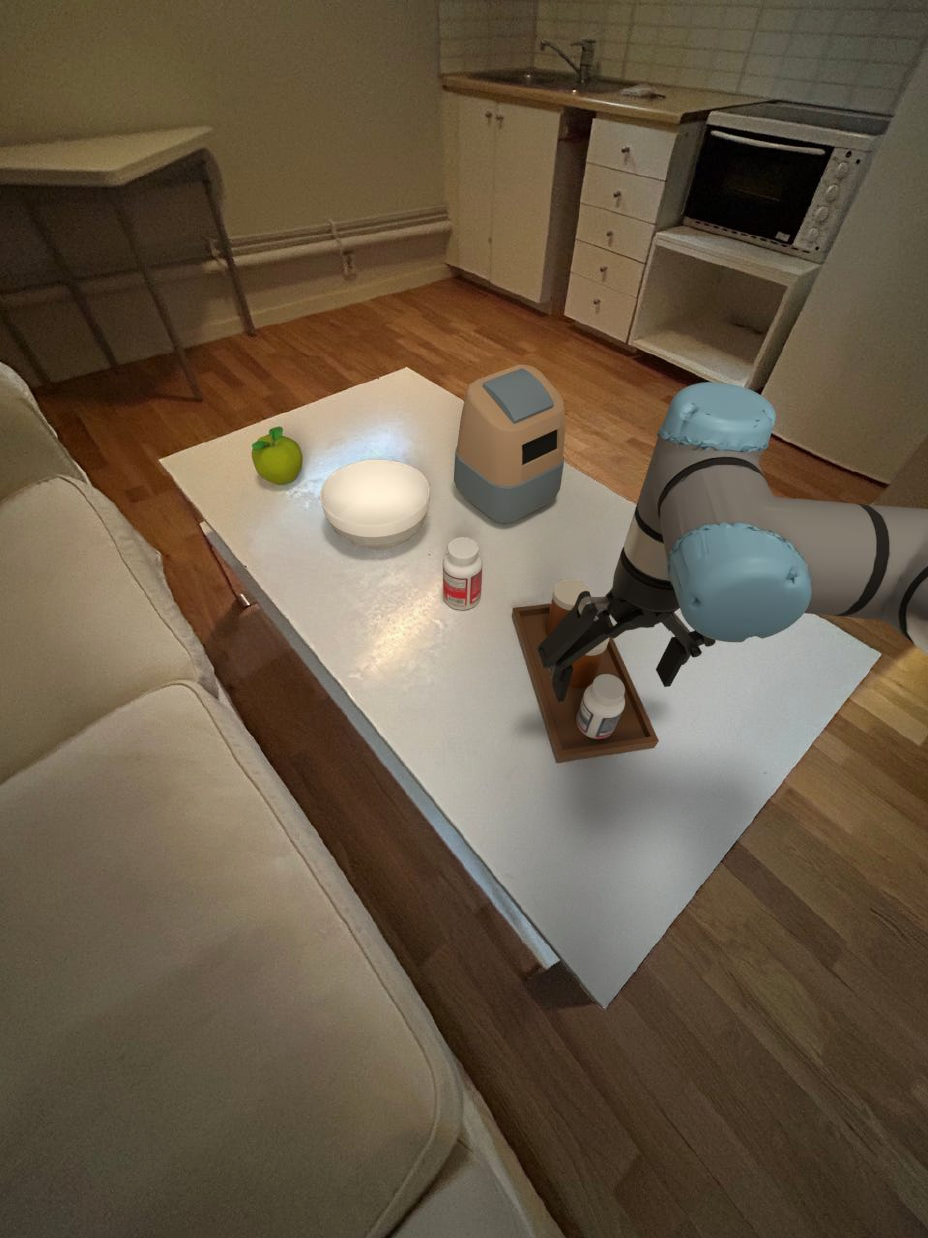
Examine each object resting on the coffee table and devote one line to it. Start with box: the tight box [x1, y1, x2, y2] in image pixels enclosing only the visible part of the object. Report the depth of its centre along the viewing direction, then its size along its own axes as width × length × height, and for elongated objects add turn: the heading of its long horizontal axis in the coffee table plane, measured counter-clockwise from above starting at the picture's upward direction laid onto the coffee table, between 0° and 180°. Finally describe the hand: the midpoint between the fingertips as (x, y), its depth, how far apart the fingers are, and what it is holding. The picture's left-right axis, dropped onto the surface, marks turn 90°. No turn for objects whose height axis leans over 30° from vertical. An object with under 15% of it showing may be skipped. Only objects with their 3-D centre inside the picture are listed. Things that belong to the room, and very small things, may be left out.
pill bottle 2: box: [576, 674, 625, 739], centre depth 70 cm, size 5×5×9 cm
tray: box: [511, 602, 659, 764], centre depth 79 cm, size 26×14×2 cm, turn 10°
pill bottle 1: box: [442, 536, 484, 611], centre depth 85 cm, size 6×6×11 cm
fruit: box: [251, 426, 304, 486], centre depth 105 cm, size 9×9×10 cm
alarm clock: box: [453, 363, 566, 524], centre depth 98 cm, size 17×17×23 cm
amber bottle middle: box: [569, 638, 609, 688], centre depth 75 cm, size 5×5×9 cm
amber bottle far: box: [546, 578, 591, 636], centre depth 80 cm, size 5×5×9 cm
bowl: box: [319, 458, 431, 550], centre depth 96 cm, size 19×19×9 cm
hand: (610, 685), depth 66 cm, fingers open, 13 cm apart
